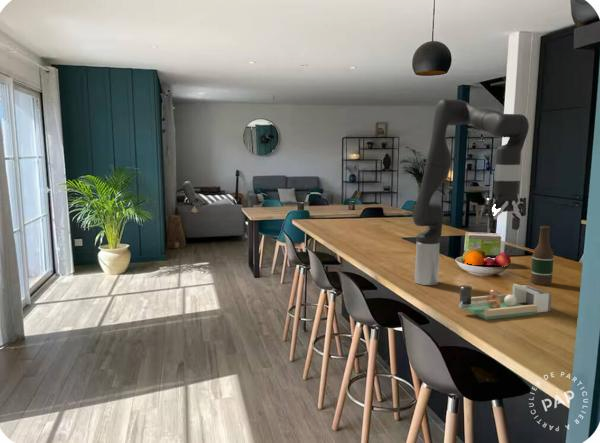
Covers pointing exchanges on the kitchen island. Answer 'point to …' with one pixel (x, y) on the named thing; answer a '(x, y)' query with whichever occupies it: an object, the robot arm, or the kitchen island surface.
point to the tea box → (483, 243)
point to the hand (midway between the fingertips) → (504, 230)
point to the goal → (532, 297)
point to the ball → (510, 300)
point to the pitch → (501, 309)
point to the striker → (466, 301)
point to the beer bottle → (542, 260)
